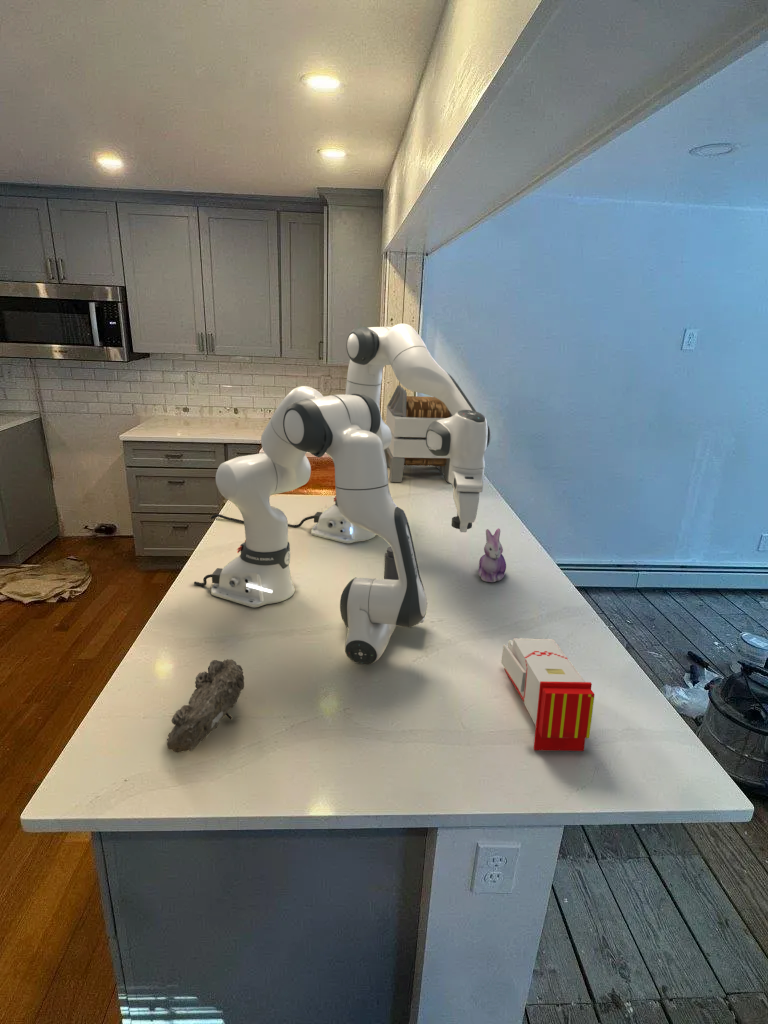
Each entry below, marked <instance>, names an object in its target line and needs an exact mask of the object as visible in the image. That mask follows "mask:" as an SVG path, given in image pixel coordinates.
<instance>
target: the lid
mask: <svg viewBox="0 0 768 1024" xmlns="http://www.w3.org/2000/svg"><path fill="white" fill-rule="evenodd" d="M472 526H473V523H468V526H467V530H470V529H472V528H473V527H472ZM451 527H452V528H454V529H457V530H460V529H459V527H460V519H459V516H457V515H456V516H453V517H452V518H451Z"/></svg>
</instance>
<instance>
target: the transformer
mask: <svg viewBox="0 0 768 1024" xmlns="http://www.w3.org/2000/svg"><path fill="white" fill-rule="evenodd" d="M407 394H408V393H407V389H404V387H403V386H402V385H399V384H398V385H397V386H396V388H395V390H394V392H393V394H392V395H391V398H390V400H389V402H388V404H387V405H386V413H385V414H386V415H385V424H386V425H387V426H388V427H389V429H390V431H391V435H392V439H391V443H390V445H389V447H388V448H387V449H385V450H384V452H385V457H386V463H387V468H389V475H388V479H389V480H390V482H391V483H402V482H403V475H404V469H405V466H406V467H407V466H411V467H412V466H413V467H415V466H416V467H417V466H418V467H436V468H437V470H438V469H439V473H440V474H441V475H443V478H444V479H445V481H446V482H447V483H449V481H448V478H449V465H450V458H449V457H448V456H436V455H434V454H432V453H431V452H430V451H429V449H428V447H427V445H426V432H427V429H428V427H429V425H430V424H431V423H432V422H433V421H437V420H441V419H446V418H449V417H452V414H451V413H450V411H449V410H448V408H447V407H446V405H445V404H444V403H443V402H442V401H441V400H439V399H437V398H435V397H433V396H415V395H414V396H413V395H412V396H411V395H407ZM449 484H450V483H449Z"/></svg>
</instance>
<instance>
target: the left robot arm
mask: <svg viewBox="0 0 768 1024" xmlns="http://www.w3.org/2000/svg"><path fill="white" fill-rule="evenodd" d="M380 414H381V410H380V411H379V408H378V406H377V404H376V402H375V401H374V400H373V399H372V398H370V397H368V396H365V395H361V394H350V395H345V394H344V393H343V394H342V393H341V394H340V393H339V394H329V395H323V394H322V393H321V392H320V391H319V390H317V389H315V388H314V387H311V386H307V385H301V386H296V387H295V388H293V389H292V390H290V392H289V393H287V395H286V396H285V397H284V398H283V399H282V400H281V402H280V403H279V404H278V405H277V407H276V409H275V410H274V412H273V414H272V415H271V417H270V419H269V421H268V423H267V424H266V426H265V428H264V430H263V432H262V433H261V438H260V443H261V448H262V449H261V450H263V452H260V453H254V454H248V455H240V456H236V457H234V458H230V459H229V460H226V461H224V462H221V463H220V464H219V466H218V468H217V469H216V473H215V484H216V488H217V490H218V492H219V493H220V495H221V496H222V497H223V498H224V499H226V500H227V501H229V502H231V503H232V504H234V505H235V507H237V509H238V511H239V513H240V514H241V516H242V520H243V521H244V523H243V525H244V537H245V539H244V542H242V543H241V544H240V546H239V547H238V548H237V549H236V553H237V554H239V553H240V554H239V555H238V556H236V557H235V558H233V559H232V560H231V561H229V562H228V563H227V564H225V565H224V566H223V567H220V568H219V567H218V568H216V569H215V570H214V571H213V572H212V573H210V574H207V575H205V576H204V577H203V581H202V582H198V581H194V582H193V585H196V586H199V587H205V586H206V585H207V583H208V581H207V580H208V579H210V578H211V584H213V585H212V586H211V587H210V588H211V589H210V594H211V596H213V597H216V598H220V599H223V600H227V601H229V602H233V603H237V604H239V605H244V606H247V607H250V608H259V607H262V606H265V605H272V604H277V603H280V602H283V601H287V600H288V599H289V598H290V599H291V597H292V596H293V595H294V594H295V592H296V589H295V584H294V583H293V579H292V574H291V567H290V563H291V547H290V546H291V545H290V542H289V526H288V524H289V520H288V517H287V515H286V514H285V512H284V511H283V510H282V509H280V508H278V507H275V506H273V505H271V502H270V497H271V496H274V495H278V494H284V493H287V492H288V493H289V492H293V491H295V490H296V489H299V488H301V487H302V486H305V485H306V484H308V482H309V480H310V478H311V474H312V467H311V463H310V459H308V457H307V455H306V454H307V453H310V454H311V455H313V456H314V457H316V458H321V457H323V456H324V455H325V454H327V453H328V454H329V455H330V456H331V457H330V459H332V462H333V467H334V485H335V488H334V489H335V496H336V499H337V505H338V508H339V511H340V512H341V514H342V515H343V516H344V517H345V518H346V519H347V520H348V521H349V522H351V523H352V524H354V525H355V526H357V527H359V528H362V529H365V530H367V531H370V532H372V533H374V534H376V535H375V536H378V537H380V538H381V539H383V540H384V541H385V542H386V543H387V544H388V545H389V547H391V548H392V550H393V554H394V559H395V563H396V568H397V573H398V577H399V580H390V579H384V578H377V577H358V576H357V577H354V578H352V579H351V580H350V581H349V582H348V583H347V584H346V585H345V587H344V588H343V590H342V593H341V595H340V601H339V611H340V616H341V619H342V621H343V623H344V625H345V627H346V628H347V634H346V637H345V643H344V652H345V654H346V657H348V658H349V659H350V660H351V661H352V662H354V663H355V664H358V665H366V666H367V665H373V664H374V663H376V662H377V661H378V660H379V659H380V658H381V657H382V655H383V654H384V652H385V650H386V649H387V647H388V645H389V642H390V640H391V636H392V635H393V633H394V631H395V629H396V627H403V628H408V629H411V628H413V627H415V626H416V625H419V624H423V623H424V622H425V619H426V616H427V612H428V599H427V594H426V591H425V588H424V583H423V581H422V578H421V574H420V570H419V564H418V560H417V555H416V551H415V546H414V541H413V536H412V531H411V528H410V527H411V526H410V525H409V520H408V517H407V514H406V513H405V510H403V509H402V508H400V507H399V506H397V504H396V502H395V501H394V499H393V497H392V495H391V492H390V487H389V475H388V474H389V473H388V471H389V470H388V467H387V463H386V457H385V452H384V448H383V444H382V441H381V439H380V438H379V437H378V436H377V435H376V433H377V432H378V430H379V427H380V422H381V417H382V416H381V417H380Z"/></svg>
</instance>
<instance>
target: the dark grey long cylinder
mask: <svg viewBox="0 0 768 1024" xmlns="http://www.w3.org/2000/svg"><path fill="white" fill-rule="evenodd" d="M383 565H384V566H383V579H390V580H399V577H398V573H397V568H396V563H395V559H394V554H393V550H392V548H391V546H388V547H387V548H386V552H385V553H384V564H383Z"/></svg>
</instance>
